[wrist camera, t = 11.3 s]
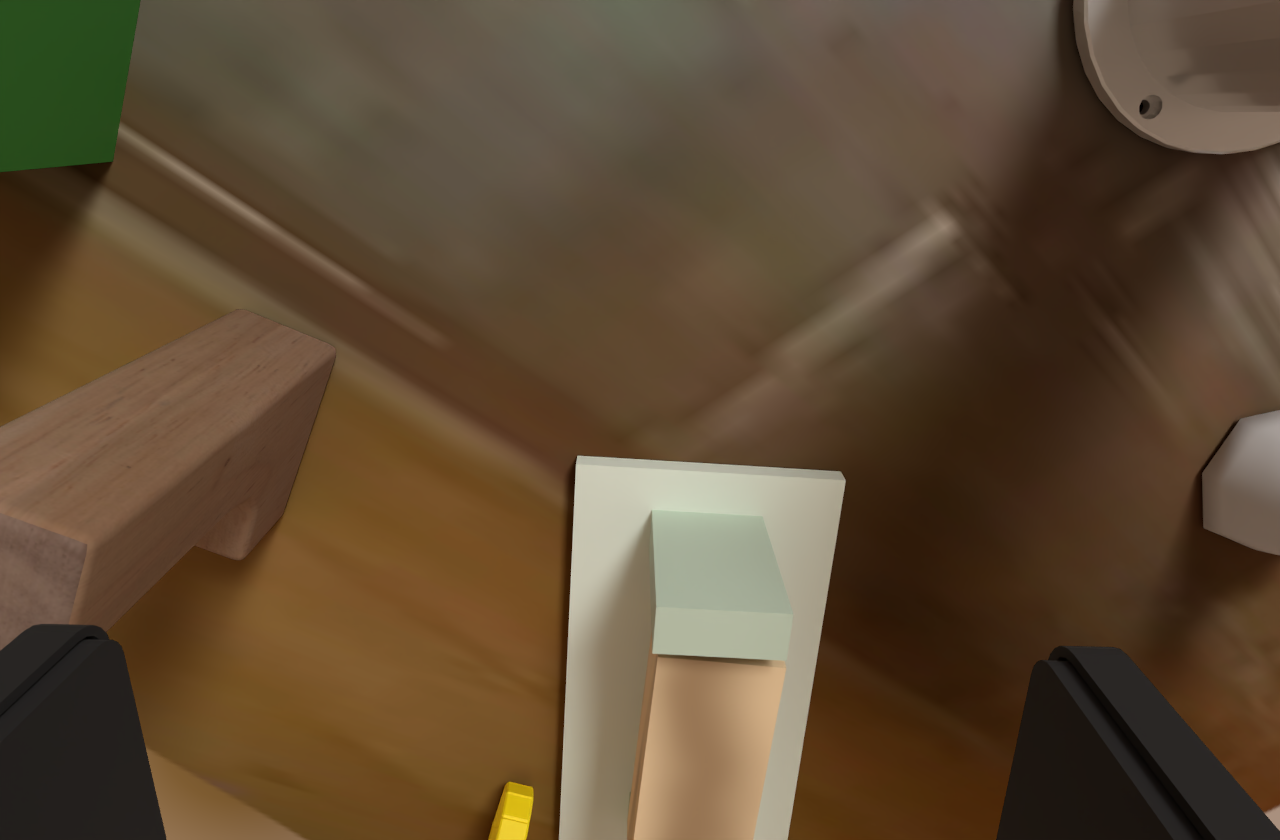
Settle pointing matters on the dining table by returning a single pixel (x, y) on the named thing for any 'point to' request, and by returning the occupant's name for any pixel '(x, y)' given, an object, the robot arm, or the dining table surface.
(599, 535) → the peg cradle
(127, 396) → the wooden block
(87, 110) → the green cereal box
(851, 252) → the dining table surface
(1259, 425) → the flask
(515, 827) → the watch
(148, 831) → the robot arm
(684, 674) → the tan wooden bar
